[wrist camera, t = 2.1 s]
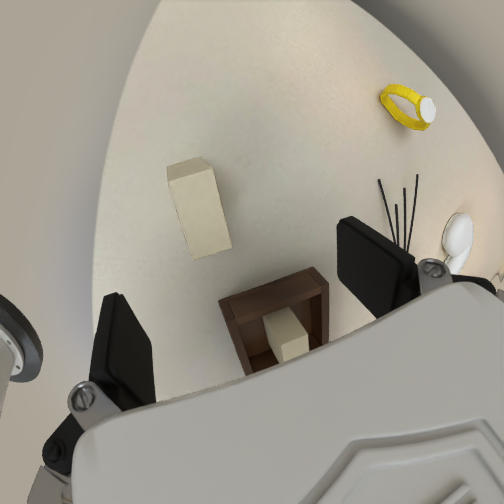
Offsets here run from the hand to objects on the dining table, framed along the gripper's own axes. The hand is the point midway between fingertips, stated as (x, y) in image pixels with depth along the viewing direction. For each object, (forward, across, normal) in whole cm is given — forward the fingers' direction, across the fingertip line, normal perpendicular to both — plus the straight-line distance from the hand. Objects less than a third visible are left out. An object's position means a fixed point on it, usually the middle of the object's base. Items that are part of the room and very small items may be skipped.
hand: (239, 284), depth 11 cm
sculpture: (+15, -39, +20) cm, 46 cm away
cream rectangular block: (+14, 0, 0) cm, 14 cm away
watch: (+15, -23, -5) cm, 28 cm away
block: (+14, -5, +18) cm, 23 cm away
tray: (+14, -4, +28) cm, 32 cm away
